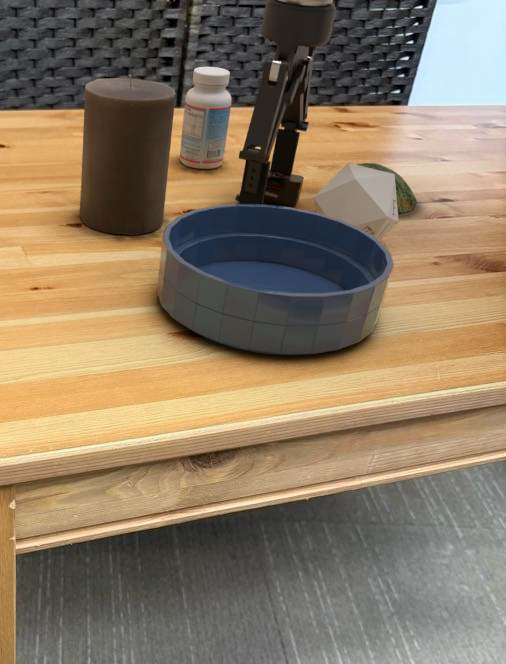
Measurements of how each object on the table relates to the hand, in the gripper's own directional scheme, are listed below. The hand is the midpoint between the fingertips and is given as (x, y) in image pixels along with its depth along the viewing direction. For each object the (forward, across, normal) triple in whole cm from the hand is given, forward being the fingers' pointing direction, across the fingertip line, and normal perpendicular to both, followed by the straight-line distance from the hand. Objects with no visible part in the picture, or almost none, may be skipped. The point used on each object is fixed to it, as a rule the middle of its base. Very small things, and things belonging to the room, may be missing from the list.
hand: (263, 201), depth 101 cm
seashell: (0, -9, +12) cm, 15 cm away
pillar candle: (0, +15, -13) cm, 20 cm away
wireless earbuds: (0, 0, 0) cm, 0 cm away
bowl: (0, +28, +8) cm, 29 cm away
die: (0, +8, +12) cm, 15 cm away
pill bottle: (0, -10, -12) cm, 15 cm away
